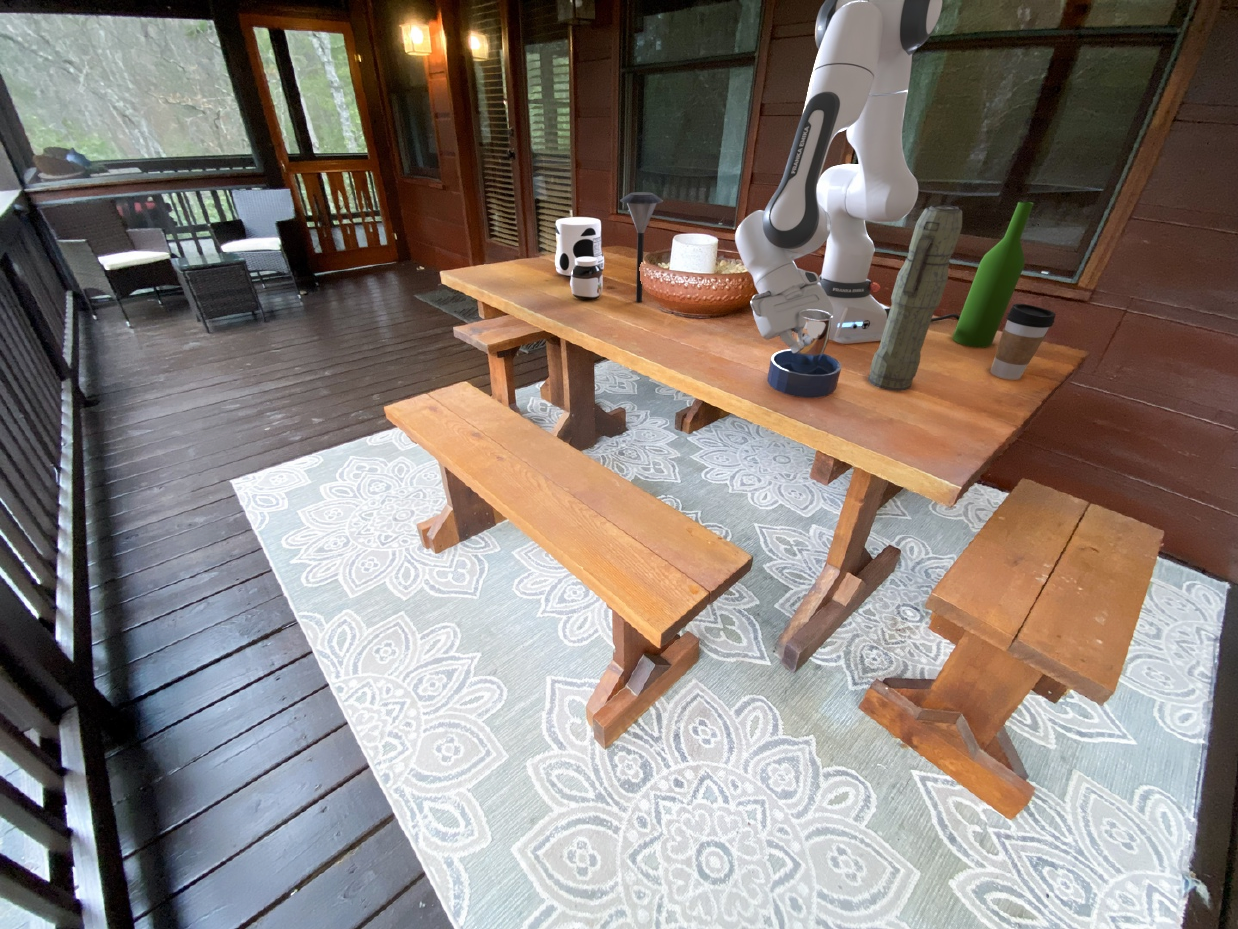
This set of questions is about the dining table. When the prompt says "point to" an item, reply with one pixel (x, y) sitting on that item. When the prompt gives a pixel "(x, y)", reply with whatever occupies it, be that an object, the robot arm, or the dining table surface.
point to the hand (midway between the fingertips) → (810, 347)
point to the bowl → (803, 376)
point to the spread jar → (586, 279)
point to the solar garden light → (640, 224)
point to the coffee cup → (1020, 339)
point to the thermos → (916, 297)
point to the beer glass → (810, 341)
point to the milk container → (577, 242)
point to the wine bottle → (993, 285)
